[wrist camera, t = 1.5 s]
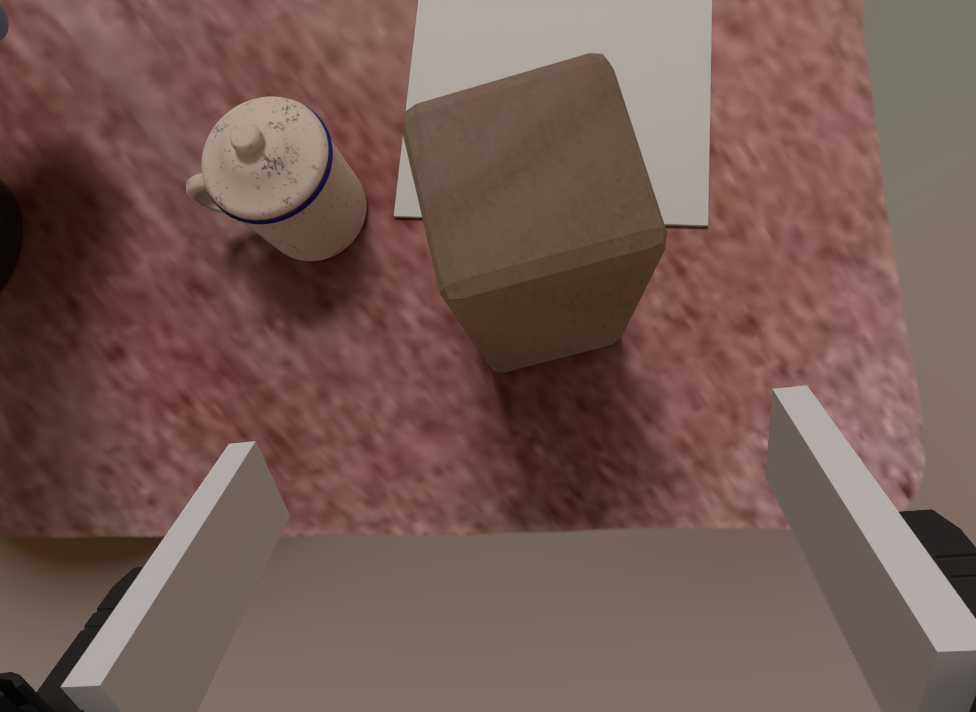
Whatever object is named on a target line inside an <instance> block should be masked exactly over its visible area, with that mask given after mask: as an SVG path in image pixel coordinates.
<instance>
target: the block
mask: <svg viewBox="0 0 976 712" xmlns="http://www.w3.org/2000/svg"><path fill="white" fill-rule="evenodd" d="M402 134H403V138H404V142H405V146H406V151H407V155H408V159H409V163H410V168H411V172H412V176H413V180H414V185H415V189H416V193H417V197H418V202H419V206H420V210H421V214H422V219H423V223H424V227H425V232H426V236H427V240H428V244H429V249H430V253H431V257H432V261H433V266H434V270H435V274H436V278H437V283H438V287H439V291H440V294H441V296H442V297H443V298H444V300H445V301H446V303H447V304H448V306H449V307H450V309H451V310H452V312H453V313H454V315H455V316H456V318H457V319H458V320H459V322H460V323H461V325H462V326H463V328H464V329H465V331H466V332H467V334H468V335H469V337H470V338H471V340H472V341H473V342H474V344H475V345H476V347H477V348H478V350H479V351H480V353H481V354H482V356H483V357H484V359H485V360H486V362H487V363H488V364H489V366H490V367H491V368H492V370H493V371H494V372H501V373H506V372H509V371H513V370H517V369H521V368H525V367H529V366H533V365H536V364H540V363H544V362H548V361H552V360H556V359H560V358H563V357H567V356H571V355H575V354H579V353H583V352H587V351H591V350H594V349H598V348H602V347H606V346H610V345H613V344H614V343H615V342H617V341H618V340H619V339H621V337H622V335H623V333H624V331H625V329H626V327H627V325H628V323H629V321H630V319H631V317H632V315H633V313H634V311H635V309H636V307H637V305H638V303H639V301H640V299H641V297H642V295H643V293H644V291H645V289H646V286H647V284H648V282H649V280H650V278H651V276H652V274H653V272H654V270H655V268H656V266H657V264H658V262H659V260H660V258H661V256H662V254H663V252H664V250H665V245H666V236H667V231H666V228H665V225H664V221H663V218H662V215H661V212H660V209H659V206H658V203H657V200H656V197H655V194H654V191H653V188H652V185H651V182H650V178H649V175H648V172H647V169H646V166H645V163H644V160H643V157H642V154H641V151H640V148H639V145H638V142H637V139H636V135H635V132H634V129H633V126H632V123H631V120H630V117H629V114H628V111H627V108H626V105H625V102H624V99H623V96H622V92H621V89H620V86H619V83H618V80H617V77H616V74H615V71H614V69H613V67H612V66H611V64H610V62H609V61H608V60H607V59H606V57H605V56H604V55H603V54H597V53H588V54H585V55H581V56H578V57H574V58H571V59H567V60H564V61H561V62H557V63H554V64H550V65H547V66H544V67H540V68H537V69H533V70H530V71H526V72H523V73H520V74H516V75H513V76H509V77H506V78H503V79H499V80H496V81H492V82H489V83H486V84H482V85H479V86H475V87H472V88H468V89H465V90H462V91H458V92H455V93H451V94H448V95H445V96H441V97H438V98H434V99H431V100H427V101H424V102H421V103H417V104H415V105H414V106H412V107H411V108H410V109H408V110H407V111H405V120H404V125H403V131H402Z"/></svg>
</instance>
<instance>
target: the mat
mask: <svg viewBox="0 0 976 712" xmlns="http://www.w3.org/2000/svg"><path fill="white" fill-rule="evenodd" d="M711 30H712V0H418V9H417V18H416V26H415V35H414V44H413V53H412V61H411V70H410V79H409V88H408V96H407V105H406V111H407V110H408V109H410V108H411V107H412V106H414V105H415V104H417V103H421V102H424V101H427V100H431V99H434V98H438V97H441V96H445V95H448V94H451V93H455V92H458V91H462V90H465V89H468V88H472V87H475V86H479V85H482V84H486V83H489V82H492V81H496V80H499V79H503V78H506V77H509V76H513V75H516V74H520V73H523V72H526V71H530V70H533V69H537V68H540V67H544V66H547V65H550V64H554V63H557V62H561V61H564V60H567V59H571V58H574V57H578V56H581V55H585V54H588V53H597V54H603V55H604V56H605V57H606V59H607V60H608V61H609V62H610V64H611V66H612V67H613V69H614V71H615V74H616V77H617V80H618V83H619V86H620V89H621V92H622V96H623V99H624V102H625V105H626V108H627V111H628V114H629V117H630V120H631V123H632V126H633V129H634V132H635V135H636V139H637V142H638V145H639V148H640V151H641V154H642V157H643V160H644V163H645V166H646V169H647V172H648V175H649V178H650V182H651V185H652V188H653V191H654V194H655V197H656V200H657V203H658V206H659V209H660V212H661V215H662V218H663V221H664V225H665V226H696V227H707V226H708V202H709V145H710V88H711ZM394 217H397V218H422V214H421V210H420V206H419V202H418V197H417V193H416V189H415V185H414V180H413V176H412V172H411V168H410V163H409V159H408V155H407V151H406V146H405V142H404V138H403V140H402V149H401V158H400V166H399V175H398V184H397V193H396V202H395V210H394Z"/></svg>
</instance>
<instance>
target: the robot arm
mask: <svg viewBox="0 0 976 712" xmlns="http://www.w3.org/2000/svg"><path fill="white" fill-rule="evenodd" d="M8 27H9V23H8V18H7V15H6V12H5V11H4V9H3V7H2V6H1V5H0V41H1V40H2V39H3V38H4V37H5V36H6V34H7V32H8ZM20 243H21V218H20V212H19V209H18V206H17V203H16V201H15V198H14V196H13V195H12V193H11V191H10V190H9V189H8V187H7V186H6V185H5V184H4V183H3V182H2V181H1V180H0V290H1V288H2V287H3V285H4V284H5V282H6V281H7V279H8V277H9V275H10V273H11V271H12V269H13V267H14V265H15V262H16V259H17V256H18V252H19V248H20ZM766 479H767V481H768V483H769V485H770V487H771V489H772V491H773V493H774V495H775V497H776V499H777V501H778V503H779V506H780V508H781V510H782V512H783V514H784V516H785V518H786V520H787V522H788V524H789V526H790V528H791V530H792V532H793V534H794V536H795V538H796V540H797V542H798V544H799V546H800V548H801V550H802V552H803V554H804V556H805V558H806V560H807V562H808V564H809V566H810V568H811V570H812V572H813V574H814V576H815V578H816V580H817V582H818V584H819V586H820V588H821V590H822V592H823V594H824V596H825V598H826V601H827V603H828V605H829V607H830V609H831V611H832V612H833V615H834V617H835V619H836V621H837V623H838V624H839V627H840V629H841V631H842V633H843V635H844V637H845V639H846V641H847V643H848V645H849V647H850V649H851V651H852V653H853V655H854V657H855V659H856V661H857V663H858V665H859V667H860V669H861V671H862V673H863V675H864V677H865V679H866V681H867V683H868V685H869V687H870V689H871V692H872V694H873V696H874V698H875V700H876V702H877V704H878V706H879V708H880V710H881V712H976V547H975V546H974V545H973V543H972V542H971V541H970V540H969V539H968V537H967V536H966V535H965V534H964V533H963V531H962V530H961V529H960V528H958V527H957V526H955V525H954V524H952V523H951V522H950V521H948V520H947V519H945V518H944V517H942V516H941V515H939V514H938V513H936V512H935V511H934V510H917V511H903V512H898V511H897V509H896V508H895V507H894V505H893V504H892V502H891V501H890V500H889V498H888V497H887V496H886V494H885V493H884V491H883V490H882V489H881V487H880V486H879V484H878V483H877V482H876V480H875V479H874V478H873V476H872V475H871V473H870V472H869V471H868V469H867V468H866V467H865V465H864V464H863V462H862V461H861V460H860V458H859V457H858V455H857V454H856V453H855V451H854V450H853V449H852V447H851V446H850V444H849V443H848V442H847V440H846V439H845V437H844V436H843V435H842V433H841V432H840V431H839V429H838V428H837V426H836V425H835V424H834V422H833V421H832V420H831V418H830V417H829V415H828V414H827V413H826V411H825V410H824V408H823V407H822V406H821V404H820V403H819V402H818V400H817V399H816V397H815V396H814V395H813V393H812V392H811V390H810V389H809V388H808V386H807V385H806V386H796V387H787V388H777V389H772V401H771V414H770V427H769V439H768V452H767V465H766ZM289 517H290V515H289V513H288V511H287V508H286V506H285V504H284V502H283V500H282V497H281V495H280V493H279V491H278V489H277V487H276V484H275V482H274V480H273V478H272V476H271V474H270V471H269V469H268V467H267V465H266V463H265V461H264V458H263V456H262V454H261V452H260V450H259V447H258V445H257V443H256V441H253V442H243V443H233V444H229V445H228V446H227V448H226V449H225V451H224V452H223V453H222V455H221V456H220V458H219V459H218V461H217V462H216V464H215V465H214V466H213V468H212V469H211V471H210V472H209V474H208V475H207V477H206V478H205V479H204V481H203V482H202V484H201V485H200V487H199V488H198V490H197V491H196V492H195V494H194V495H193V497H192V498H191V500H190V501H189V502H188V504H187V505H186V507H185V508H184V510H183V511H182V513H181V514H180V515H179V517H178V518H177V520H176V521H175V523H174V524H173V526H172V527H171V528H170V530H169V531H168V533H167V534H166V536H165V537H164V539H163V540H162V541H161V543H160V544H159V546H158V547H157V549H156V550H155V552H154V553H153V554H152V556H151V557H150V559H149V560H148V562H147V563H146V564H145V566H144V567H139V568H133V569H132V570H131V571H130V572H129V573H128V574H127V575H126V576H125V577H123V578H122V579H121V580H120V581H119V582H118V583H117V584H115V586H113V587H112V589H111V590H110V591H109V593H108V594H107V596H106V597H105V599H104V600H103V601H102V602H101V604H100V605H99V607H98V608H97V612H96V613H94V614H93V615H92V616H91V618H90V619H89V620H88V622H87V623H86V624H85V629H84V630H83V631H80V633H79V634H78V636H77V637H76V638H75V640H74V641H73V642H72V644H71V645H70V647H69V648H68V649H67V651H66V652H65V654H64V655H63V656H62V658H61V659H60V660H59V662H58V663H57V665H56V666H55V668H54V669H53V670H52V671H51V673H50V674H49V676H48V677H47V678H46V680H45V681H44V683H43V684H42V686H41V687H40V688H39V690H38V691H37V692H35V691H34V689H33V688H32V687H31V686H30V685H29V684H28V683H27V682H26V681H25V680H24V679H23V678H22V677H21V676H20V675H18V674H15V673H13V672H7V673H0V712H197V710H198V708H199V706H200V704H201V702H202V700H203V698H204V695H205V693H206V691H207V689H208V687H209V685H210V683H211V681H212V679H213V677H214V674H215V672H216V670H217V668H218V666H219V664H220V662H221V660H222V658H223V655H224V653H225V651H226V649H227V647H228V645H229V643H230V641H231V639H232V637H233V634H234V632H235V630H236V628H237V626H238V623H239V622H240V620H241V617H242V616H243V613H244V611H245V609H246V607H247V605H248V603H249V601H250V599H251V597H252V595H253V593H254V590H255V588H256V586H257V584H258V582H259V580H260V578H261V576H262V573H263V572H264V569H265V567H266V565H267V563H268V561H269V559H270V557H271V555H272V553H273V551H274V548H275V546H276V544H277V542H278V540H279V538H280V536H281V534H282V532H283V530H284V527H285V525H286V523H287V521H288V519H289Z"/></svg>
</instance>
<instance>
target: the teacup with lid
mask: <svg viewBox="0 0 976 712" xmlns="http://www.w3.org/2000/svg"><path fill="white" fill-rule="evenodd" d="M206 190H207V191H208V192H206ZM186 194H187V196H188V198H189V199H190V200H191V201H192V202H194V203H195V204H197V205H199V206H201V207H203V208H206V209H208V210H211V211H215V212H219V213H225V214H227V215H229V216H230V217H232V218H234V219H236V220H238V221H241V222H243V223H244V224H246V225H247V226H248V227H250V228H251V229H252V230H253V231H255V232H256V233H257V234H259V235H260V236H261V237H262V238H264V239H265V240H266V241H268V242H269V243H270V244H271V245H273V246H274V247H275V248H277V249H278V250H279V251H281V252H282V253H283V254H285V255H287V256H289V257H291V258H294V259H297V260H301V261H319V260H324V259H327V258H330V257H333V256H335V255H337V254H338V253H340V252H342V251H343V250H344V249H346V248H347V247H348V246H349V245H350V244H351V243H352V242H353V241H354V240H355V238H356V237H357V235H358V234H359V232H360V230H361V228H362V226H363V224H364V220H365V216H366V209H367V203H366V196H365V192H364V189H363V187H362V185H361V183H360V181H359V179H358V178H357V177H356V175H355V174H354V172H353V171H352V169H351V168H350V167H349V165H348V164H347V162H346V161H345V159H344V158H343V156H342V155H341V154H340V152H339V151H338V149H337V148H336V146H335V145H334V144H333V142H332V141H331V138H330V135H329V132H328V130H327V128H326V126H325V124H324V123H323V121H322V120H321V119H320V118H319V117H318V116H317V114H316V113H314V112H313V111H312V110H311V109H309V108H308V107H306V106H304V105H302V104H300V103H299V102H296V101H294V100H291V99H287V98H282V97H261V98H256V99H252V100H249V101H247V102H244V103H242V104H240V105H238V106H237V107H235V108H233V109H232V110H230V111H229V112H228V113H227V114H225V115H224V116H223V117H222V118H221V119H220V120H219V121H218V123H217V124H216V125H215V126H214V128H213V129H212V131H211V133H210V134H209V136H208V138H207V141H206V143H205V146H204V150H203V154H202V173H201V174H197V175H194V176H192V177H191V178H190V179H189V180H188V181H187V184H186Z"/></svg>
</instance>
